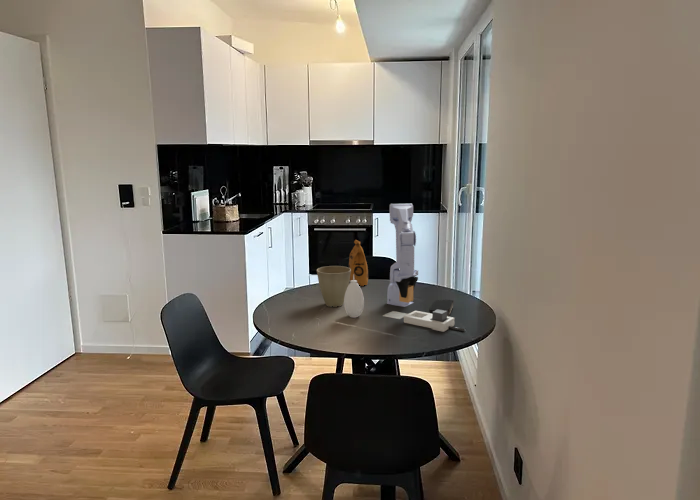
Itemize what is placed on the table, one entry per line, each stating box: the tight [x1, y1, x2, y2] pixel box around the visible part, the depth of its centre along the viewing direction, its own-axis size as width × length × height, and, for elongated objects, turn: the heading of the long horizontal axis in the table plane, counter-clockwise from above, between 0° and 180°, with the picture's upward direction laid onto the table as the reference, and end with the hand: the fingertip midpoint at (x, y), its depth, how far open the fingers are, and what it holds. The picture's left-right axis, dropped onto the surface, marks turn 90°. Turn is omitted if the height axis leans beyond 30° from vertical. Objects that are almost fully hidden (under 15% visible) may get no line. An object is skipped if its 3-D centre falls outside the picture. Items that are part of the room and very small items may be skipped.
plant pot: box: [316, 265, 351, 308], centre depth 225 cm, size 15×15×16 cm
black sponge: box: [428, 299, 454, 317], centre depth 214 cm, size 16×8×4 cm, turn 162°
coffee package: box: [348, 239, 369, 287], centre depth 262 cm, size 10×12×22 cm
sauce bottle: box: [343, 274, 365, 318], centre depth 206 cm, size 8×8×18 cm
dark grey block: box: [432, 309, 447, 322], centre depth 194 cm, size 4×4×6 cm
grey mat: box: [382, 310, 408, 320], centre depth 209 cm, size 8×8×1 cm
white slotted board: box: [403, 310, 466, 332], centre depth 196 cm, size 23×9×3 cm, turn 53°
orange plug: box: [399, 285, 414, 303], centre depth 203 cm, size 4×4×6 cm
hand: (406, 296), depth 203 cm, fingers closed on orange plug, 4 cm apart
